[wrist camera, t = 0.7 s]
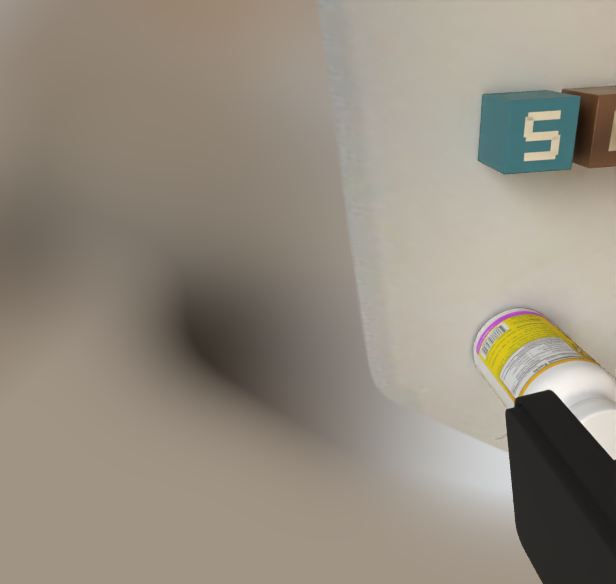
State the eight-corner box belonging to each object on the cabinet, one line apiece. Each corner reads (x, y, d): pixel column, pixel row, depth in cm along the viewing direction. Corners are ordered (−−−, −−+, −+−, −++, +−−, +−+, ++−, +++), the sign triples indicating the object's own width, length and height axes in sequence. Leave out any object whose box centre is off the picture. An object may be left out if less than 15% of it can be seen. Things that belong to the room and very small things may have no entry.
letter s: (482, 94, 39) (510, 100, 34) (546, 90, 39) (582, 95, 35) (477, 161, 40) (504, 174, 36) (538, 156, 41) (572, 169, 37)
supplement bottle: (552, 368, 48) (653, 475, 36) (473, 386, 48) (549, 499, 36) (550, 296, 45) (659, 385, 33) (467, 314, 45) (547, 411, 33)
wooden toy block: (562, 89, 39) (599, 94, 35) (624, 85, 39) (669, 90, 35) (554, 155, 41) (588, 168, 37) (614, 151, 41) (655, 163, 37)
